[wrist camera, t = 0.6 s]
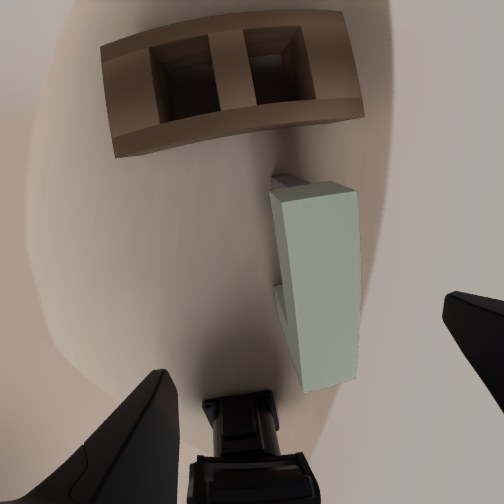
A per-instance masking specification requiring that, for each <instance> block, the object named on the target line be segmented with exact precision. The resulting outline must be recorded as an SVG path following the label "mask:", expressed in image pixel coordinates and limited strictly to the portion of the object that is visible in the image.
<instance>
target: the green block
mask: <svg viewBox="0 0 504 504" xmlns="http://www.w3.org/2000/svg"><path fill="white" fill-rule="evenodd" d="M271 182H272V189H273V190H270V191H269V195H270V201H271V208H272V214H273V221H274V228H275V235H276V241H277V248H278V255H279V263H280V270H281V277H282V285H277V286H273V287H274V293H275V300H276V307H277V314H278V318H279V321H280V324H281V327H282V330H283V333H284V336H285V339H286V342H287V345H288V348H289V351H290V354H291V357H292V361H293V364H294V367H295V370H296V373H297V376H298V379H299V382H300V385H301V388H302V391H303V393H307V392H311V391H315V390H319V389H323V388H327V387H330V386H334V385H337V384H341V383H344V382H347V381H351V380H354V379H356V374H357V362H358V348H359V329H360V295H361V266H360V232H359V213H358V198H357V191H356V190H353V189H351V188H348V187H345V186H342V185H339V184H337V183H334V182H331V181H329V182H322V183H315V184H312V183H309V182H307V181H305V180H302V179H300V178H297V177H295V176H292V175H290V174H287V175H281V176H274V177H271Z"/></svg>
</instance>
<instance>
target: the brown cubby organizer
mask: <svg viewBox="0 0 504 504" xmlns="http://www.w3.org/2000/svg"><path fill="white" fill-rule="evenodd" d="M100 50H101V62H102V73H103V82H104V91H105V98H106V106H107V113H108V119H109V126H110V132H111V137H112V143H113V148H114V154H115V158H123V157H131V156H140V155H145V154H149V153H153V152H157V151H161V150H165V149H169V148H173V147H177V146H182V145H186V144H191V143H195V142H200V141H205V140H210V139H215V138H220V137H226V136H231V135H237V134H243V133H249V132H256V131H263V130H270V129H278V128H286V127H294V126H304V125H314V124H326V123H334V122H339V121H345V120H351V119H357V118H363V117H365V114H364V108H363V102H362V96H361V91H360V85H359V80H358V75H357V70H356V65H355V61H354V56H353V52H352V48H351V44H350V40H349V36H348V32H347V28H346V24H345V21H344V17H343V14H342V11H328V10H267V11H253V12H242V13H233V14H225V15H218V16H212V17H206V18H200V19H195V20H189V21H185V22H180V23H176V24H171V25H167V26H163V27H159V28H156V29H152V30H148V31H145V32H142V33H138V34H135V35H132V36H129V37H126V38H123V39H120V40H117V41H114V42H111V43H109V44H106V45H103V46H101V47H100ZM277 54H281V56H282V61H283V66H284V71H285V76H286V81H287V86H288V92H289V97H290V101H289V102H279V103H271V104H262V105H257V103H256V97H255V92H254V86H253V81H252V75H251V70H250V65H249V60H248V57H255V56H265V55H277ZM207 63H211V64H212V69H213V75H214V81H215V87H216V92H217V98H218V104H219V109H220V111H218V112H212V113H207V114H202V115H197V116H192V117H188V118H183V119H179V120H175V119H174V113H173V107H172V101H171V95H170V89H169V82H168V76H167V72H170V71H174V70H178V69H183V68H187V67H192V66H197V65H202V64H207Z"/></svg>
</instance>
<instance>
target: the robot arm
mask: <svg viewBox="0 0 504 504" xmlns="http://www.w3.org/2000/svg"><path fill="white" fill-rule="evenodd" d="M442 318H443V322H444V323H445V325H446V327H447V328H448V330H449V331H450V333H451V335H452V336H453V338H454V339H455V341H456V343H457V344H458V346H459V348H460V349H461V351H462V352H463V354H464V355H465V357H466V359H467V360H468V361H469V363H470V364H471V365H472V367H473V368H474V370H475V371H476V372H477V374H478V375H479V377H480V378H481V380H482V381H483V382H484V384H485V385H486V387H487V388H488V390H489V391H490V393H491V394H492V396H493V397H494V399H495V401H496V402H497V404H498V405H499V407H500V408H501V410H502V411H503V413H504V301H502V300H497V299H492V298H488V297H483V296H477V295H473V294H468V293H463V292H459V291H454V292H451V293H449V294H447V295H446V296H445V300H444V307H443V314H442ZM268 395H269V396H268ZM202 408H203V410H204V412H205V414H206V416H207V418H208V421H209V423H210V425H211V427H212V429H213V445H214V457H205V456H204V455H197V462H195V463H193V464H190V473H189V474H190V475H189V485H188V493H187V504H321V495H320V489H319V486H318V483H317V481H316V479H315V477H314V475H313V473H312V471H311V469H310V467H309V465H308V463H307V461H306V459H305V456H304V454H303V452H299V453H295V454H288V455H281V453H280V449H279V444H278V439H277V434H276V431H278V430H279V423H278V418H277V413H276V408H275V402H274V397H273V393H272V392H271V391H262V392H257V393H251V394H245V395H239V396H233V397H226V398H219V399H211V400H204V401H203V402H202ZM179 445H180V430H179V412H178V393H177V389H176V387H175V385H174V383H173V381H172V379H171V377H170V375H169V373H168V371H167V370H166V369H158V370H153V371H151V372H150V373H149V375H148V376H147V377H146V378H145V379H144V380H143V381H142V382H141V383H140V384H139V385H138V386H137V387H136V388H135V389H134V390H133V392H132V393H131V394H130V395H129V396H128V397H127V398H126V399H125V400H124V401H123V402H122V403H121V404H120V405H119V406H118V408H117V409H116V410H115V411H114V412H113V413H112V414H111V415H110V416H109V417H108V418H107V419H106V420H105V421H104V422H103V423H102V424H101V425H100V427H99V428H98V429H97V430H96V431H95V432H94V433H93V434H92V435H91V436H90V437H89V438H88V439H87V440H86V441H85V442H84V445H81V446H80V447H79V448H78V449H77V450H76V451H75V453H74V454H73V455H71V457H69V459H67V460H66V462H64V463H63V464H62V465H61V466H60V467H59V468H58V469H57V470H55V471H54V472H53V473H52V474H51V475H50V476H49V477H47V478H46V479H45V480H44V481H43V482H41V483H40V484H39V485H38V486H36V487H35V488H34V489H33V490H31V491H30V492H29V493H28V494H26V495H25V496H23V497H21V498H19V499H17V500H13V501H6V502H0V504H177V485H178V462H179Z"/></svg>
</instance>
